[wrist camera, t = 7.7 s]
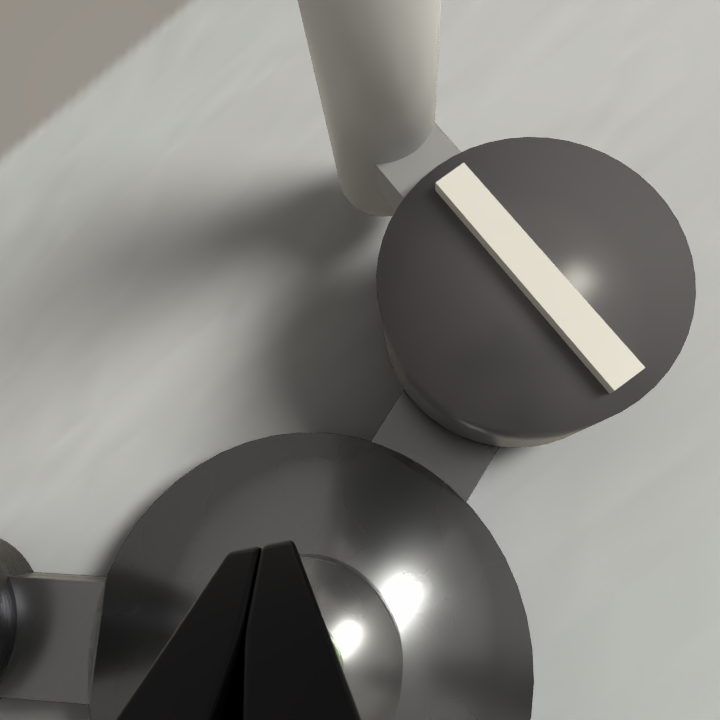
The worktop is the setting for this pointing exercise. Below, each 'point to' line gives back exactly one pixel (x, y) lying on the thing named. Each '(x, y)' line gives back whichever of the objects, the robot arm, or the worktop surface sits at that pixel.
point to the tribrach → (322, 565)
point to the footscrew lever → (496, 244)
